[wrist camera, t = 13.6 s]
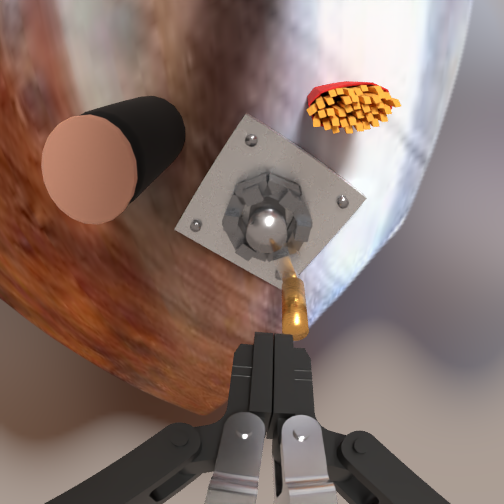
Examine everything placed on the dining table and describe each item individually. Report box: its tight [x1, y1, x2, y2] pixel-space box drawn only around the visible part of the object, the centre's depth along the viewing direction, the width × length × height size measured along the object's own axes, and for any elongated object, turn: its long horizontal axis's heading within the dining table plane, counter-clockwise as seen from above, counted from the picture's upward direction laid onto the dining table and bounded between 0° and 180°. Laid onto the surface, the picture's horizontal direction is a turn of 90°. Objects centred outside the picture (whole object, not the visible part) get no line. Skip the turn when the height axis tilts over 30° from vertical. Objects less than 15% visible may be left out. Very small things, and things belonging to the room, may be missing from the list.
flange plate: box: [174, 113, 366, 290], centre depth 41 cm, size 20×20×8 cm
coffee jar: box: [41, 96, 185, 224], centre depth 32 cm, size 11×11×18 cm
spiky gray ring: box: [222, 173, 313, 341], centre depth 39 cm, size 17×11×13 cm, turn 23°
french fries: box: [307, 81, 401, 134], centre depth 30 cm, size 9×4×13 cm, turn 106°
